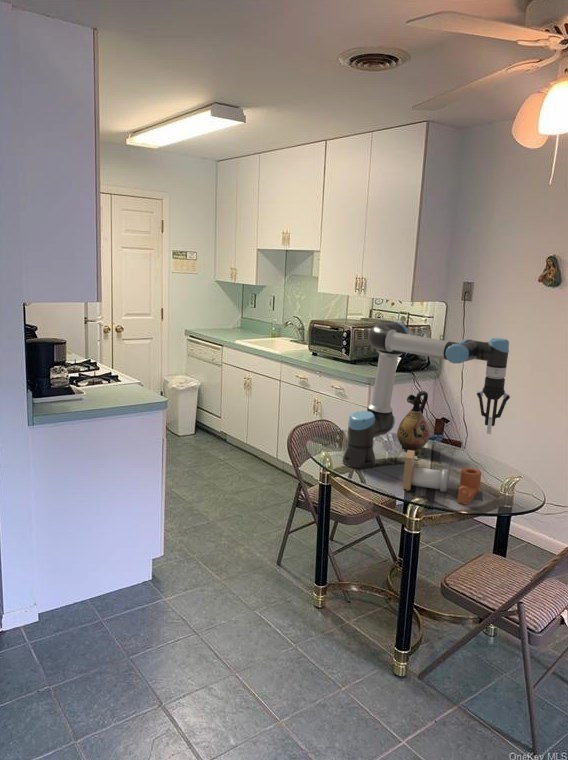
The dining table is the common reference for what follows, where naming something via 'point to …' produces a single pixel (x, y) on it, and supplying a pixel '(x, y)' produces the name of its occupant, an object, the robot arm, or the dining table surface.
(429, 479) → the pipe stub
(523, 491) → the dining table surface
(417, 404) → the ceramic jug
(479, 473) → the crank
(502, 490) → the dining table surface
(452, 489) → the gasket mat
